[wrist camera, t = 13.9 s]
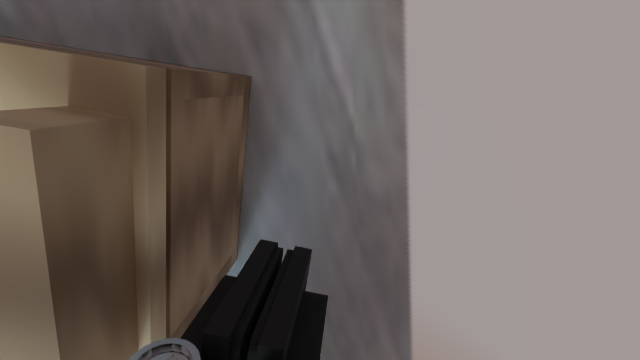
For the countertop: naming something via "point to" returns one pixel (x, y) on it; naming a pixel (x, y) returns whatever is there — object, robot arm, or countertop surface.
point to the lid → (81, 205)
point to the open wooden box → (196, 178)
